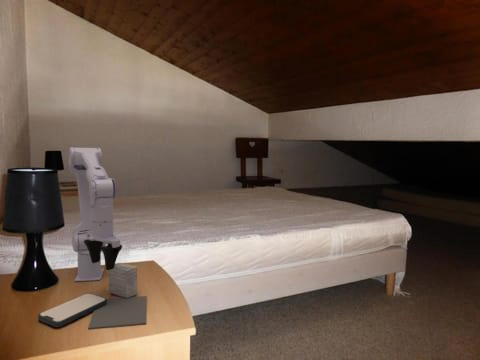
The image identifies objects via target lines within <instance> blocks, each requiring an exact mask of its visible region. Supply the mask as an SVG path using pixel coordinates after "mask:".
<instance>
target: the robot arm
mask: <svg viewBox="0 0 480 360" xmlns="http://www.w3.org/2000/svg"><path fill="white" fill-rule="evenodd" d="M102 162H103V153H102V149H101V148H100V147H74V146H71V147H70V148H69V149H68V168H69V172H70V174H72V175H74V176H75V178H76V181H77V193H78V206H79V216H80V217H79V218H80V223H79V224H77V225H76V226H75V227H74V228H73V230H72V232H71V234H72V236H71V245H72V250H73V251H74V252H75V253H77V274H76V276H75V278H74V282H86V281H87V282H88V281H100V280H101V279H102V276H103V274H104V271H105V270H106V271H109V270H110V269H114V266H115V264H116V263H117V262H116V261H117V258H118V255H119V253H120V252H121V250H122V249H123V245H122V244H121V239H120V238H118V237H117V236H116V235H115V234H114V199H115V198H116V195H117V194H116V193H117V187H116V184H117V183H116V182H115V179H114V178H112V177H109V176H108V173H107V172H106V170H105V168H104V167H103V166H101V165H102ZM102 254H103V258H104V265H105V266H104V267H105V268H102V265H101V264H102V263H101V262H102V261H101V260H102V259H101V258H102V257H101V255H102Z"/></svg>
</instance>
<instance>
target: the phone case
mask: <svg viewBox="0 0 480 360" xmlns="http://www.w3.org/2000/svg"><path fill="white" fill-rule="evenodd" d="M107 299H108V298H106V297H103V296H100V295H97V294H94V293H90V292H89V293H85V294H82V295H80V296H78V297H75V298H73V299H71V300H68V301H65V302H63V303H61V304H58V305H56V306H54V307H51V308H49V309H46V310H45V311H43V312H40V313H38V315H37V318H38V319H37V320H38V321H40V322H42V323H45V324H47V325H49V326H52V327H55V328H59V327H63V326H64V325H66V324H68V323H71V322H73V321H75V320H76V319H79V318H81V317H83V316H85V315H87V314H90V313H91V312H93V311H94V310H95V309H98V308H100V307H102V306H104V305H106V304H107Z"/></svg>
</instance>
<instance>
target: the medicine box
mask: <svg viewBox="0 0 480 360" xmlns="http://www.w3.org/2000/svg"><path fill="white" fill-rule="evenodd" d="M108 292H109V294H112V295H115V296H119V297H120V298H124V297H125V298H129V297H134V296H136V295H137V294H138V267H137V265H135V266H134V265H131V264H128V263H123V262H115V266H114V269H110V270H108Z"/></svg>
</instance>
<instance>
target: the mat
mask: <svg viewBox="0 0 480 360" xmlns="http://www.w3.org/2000/svg"><path fill="white" fill-rule="evenodd" d="M106 299H107V304H106V305H104V306H102V307H100V308H98V309H95V310H93V311H92V315H91V318H90V321H89V324H88V327H87V329H88V330H99V329H107V328H121V327H132V326H133V327H134V326H144V325H147V307H148V306H147V302H148V301H147V295H143V296H142V295H141V296H140V295H139V296H131V297H129V298H125V297H113V298H112V297H111V298H106Z"/></svg>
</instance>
